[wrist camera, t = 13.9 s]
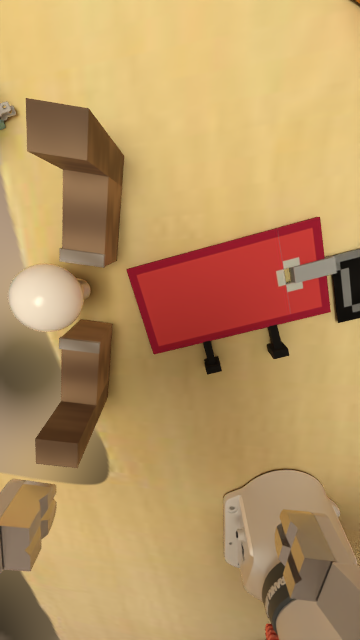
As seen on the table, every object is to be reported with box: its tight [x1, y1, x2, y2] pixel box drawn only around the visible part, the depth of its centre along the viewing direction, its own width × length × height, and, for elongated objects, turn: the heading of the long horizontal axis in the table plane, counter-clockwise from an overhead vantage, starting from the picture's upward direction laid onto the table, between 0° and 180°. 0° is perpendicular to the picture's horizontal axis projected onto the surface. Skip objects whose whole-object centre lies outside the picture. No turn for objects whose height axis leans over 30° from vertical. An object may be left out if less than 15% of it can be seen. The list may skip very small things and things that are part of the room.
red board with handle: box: [127, 217, 360, 374], centre depth 33 cm, size 30×3×15 cm
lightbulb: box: [8, 264, 90, 332], centre depth 28 cm, size 6×6×11 cm
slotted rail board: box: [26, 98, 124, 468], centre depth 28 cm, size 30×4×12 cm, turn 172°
